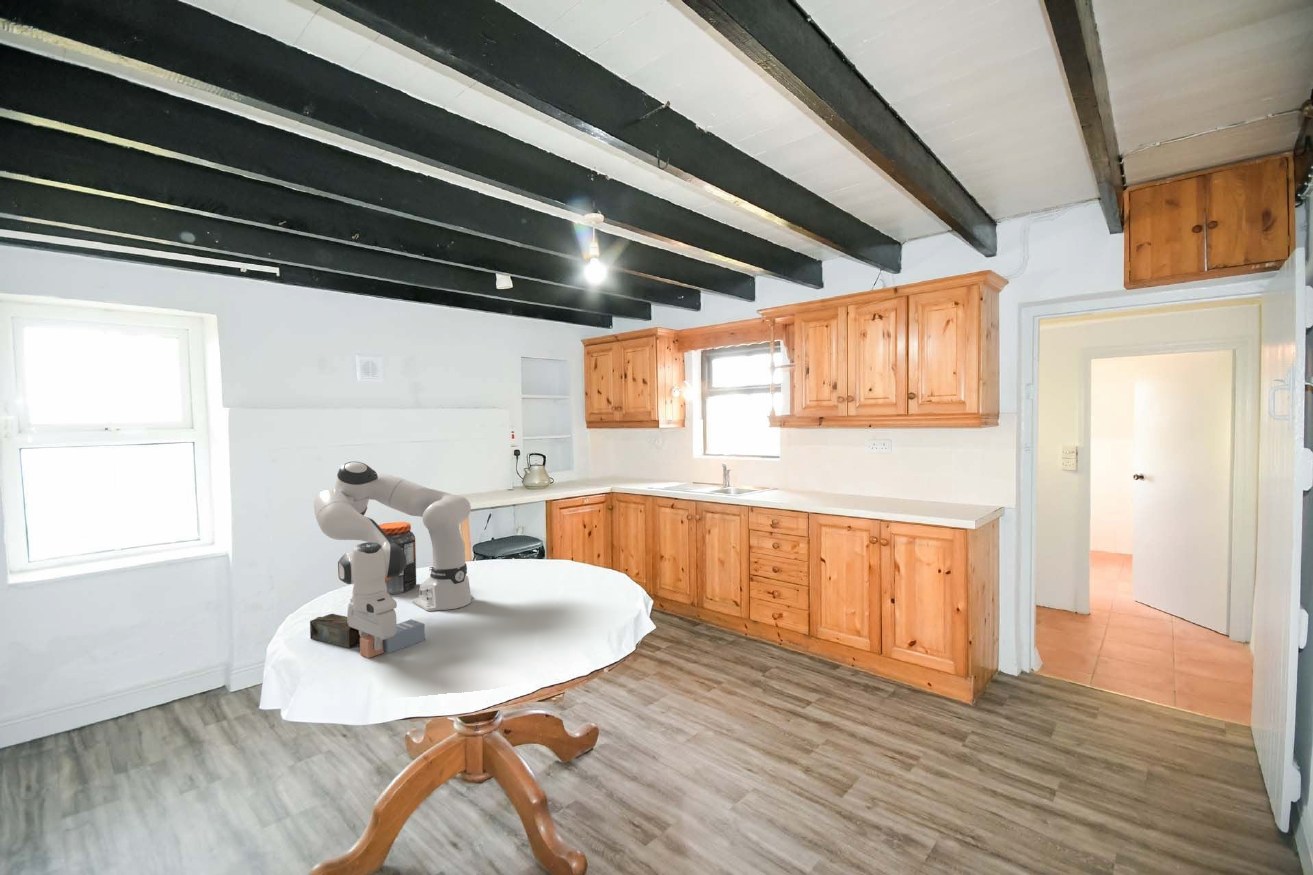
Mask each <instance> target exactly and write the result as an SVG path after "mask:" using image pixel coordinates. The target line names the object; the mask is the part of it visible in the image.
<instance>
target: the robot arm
mask: <svg viewBox="0 0 1313 875" xmlns="http://www.w3.org/2000/svg"><path fill="white" fill-rule="evenodd" d="M336 476H337V478H336V482H335V486H334V488H330V489H325V490H322V491H321V492H319V493H318V494H317V495H316V497H315V499H314V502H313V508H314V514H315V519H316V522H317V524H318V526H319V528H320V530H321V532H322V533H323V534H324V535H325V536H327V537H328V538H331V539H333V540H338V541H362V543H358V544H357V545H355V546H354V547H353V549H352V551H350V552H346V553H344V554H343V555H342V556H341V557H340V558H339V560H338V561H337V570H338V571H337V572H338V575H337V576H338V579H339V580H340V581H341V582H343V583H345V584H347V585H353V588H352V596H351V598H350V601H349V602H350V603H348V605H347V613H346V614H347V615H346V617H347V622H348V625H349V627H352V628H354V629H357V630H359V634H360V637H361V638H362V637H365V636H368V634H370V635H373V636H374V639H375V643H374V644H373V649H374V650H376V651H377V650H380V649H381V648H382V646H381V643H382V641H383V640H385V639H388V638H391V637H394V636H395V634H396V628H397V624H398V623H397V613H396V610H395V609H396V608H397V607H398V604H397V600H396V599H394V598H393V597H392V596H391V594H389V593H388V592H387V587H386V583H385V578H394V577H398V576H399V575H400V574H401V573H402V571H403V570H404V569H405V567H406V556H405V553H404V551H403V550H402V549H401V548H400V547H399V546H398V545H396V544H395V543H394V542H393V541H392V540H391V539H390V538H389V537H388V536H387V534H386V533H385V532H384V531H383V530H382V529H381V528H380V527H379V525H380V524H378V523H377V522H376V521H375V520H374V519H373V518H371V517H367V516H365V515H366V512H367V510H368V504H369V500H373V501H377V502H378V503H380V504H382V505H384V506H386V507H388V508H391V509H392V510H393V509H394V510H396V511H398V512H401V513H404V514H406V515H408V516H412V517H421V518H422V523H423V525H424V527H425V528H426V529H427V530H428V533H429V537H430V541H431V546H432V566H430V567H429V571H430V575H429V577H428V578H427V579H426V580H425V581H423V583H422V584H420V586H419V590H418V596H416V597H414V598H413V599H412V600H411V602H412V603H413V604H414V605H416V606H418V607H420V608H421V609H423V610H425V611H427V612H434V611H444V610H445V611H447V610H453V609H458V608H463V607H465V606H467V605H469V604H470V603H471V602H472V599H473V597H474V595H473V593H471V587H470V580H469V579H470V578H469V576H468V575H467V574H468V567H467V563H466V543H465V541H464V540H463V538H462V534H461V530H460V524H461V523H464V522H465V521H466V520H467V518H468V517H469V515H470V514H471V510H472V509H471V508H472V506H471V503H470V501H469V500H468V498H466V497H464V496H461V495H457V494H452V493H448V492H445V491H441V490H437V489H433V488H429V487H425V486H422V485H419V484H417V483H415V482H412V481H410V480H407V479H404V478H401V477H398V476H394V475H390V474H385V473H377V472H376V471H375V469H373V468H371V466H369V465H368V464H366V463H364V462H360V461H348V462H346V463H344V464H342V465H341V466H340V467H339V470H338V471H337V475H336Z"/></svg>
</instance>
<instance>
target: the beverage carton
mask: <svg viewBox="0 0 1313 875" xmlns="http://www.w3.org/2000/svg"><path fill="white" fill-rule="evenodd" d="M309 635H310V639H311V640H315V641H319V642H322V643H327V644H332V645H336V646H339V647H344V648H348V649H351V648H355V647H357V646H360V638H361V637H360V634H359V630H357V629H354V628H352V627H349V625H348V622H347V615H345V616H344V615H340V614H336V613H330V614H326V615H324V616H317V617H316V618H313V619H312V620H310V621H309ZM368 635H370V634H368Z"/></svg>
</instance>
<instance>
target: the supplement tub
mask: <svg viewBox="0 0 1313 875" xmlns="http://www.w3.org/2000/svg"><path fill="white" fill-rule="evenodd" d="M378 525H379V527H380V528H381V529H382V530H383V531H384V532H385V533H386V534H387V536H388V537H389V538H390V539H391V540H392V541H393V542H394V543H395V544H396V545H398V546H399V547H400V548H401V549H402V550H403V551H404V553H405V556H406V567H405V569H404V570H403V571H402V573H401V574H400V575H399V576H398V577H394V578H385V583H386V587H387V592H388V593H389V595H396V594H402V593H404V592H408V591H411V590H412V589H414V588H415V587H416V585H417V564H416V563H417V555H416V553H417V550H416V536H415V534H414V532H412V530H411V529H412V527H411V523H410V522H406V521H405V522H404V521H397V522H387V523H382V524H378Z"/></svg>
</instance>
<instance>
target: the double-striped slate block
mask: <svg viewBox="0 0 1313 875" xmlns="http://www.w3.org/2000/svg"><path fill="white" fill-rule="evenodd" d="M425 633H426V631H425V623H423V622H421V621H417V620H414V619H409V620H405V621H402V622H399V623H397V628H396V634H395V636H394V637H391V638H388V639H385V640H383V653H385V654H390V653H394V652H396V651H398V650H401V649H404V648H407V647H410V646H412V645H414V644H418V643H420V642H423V641H425V640H426V634H425Z"/></svg>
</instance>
